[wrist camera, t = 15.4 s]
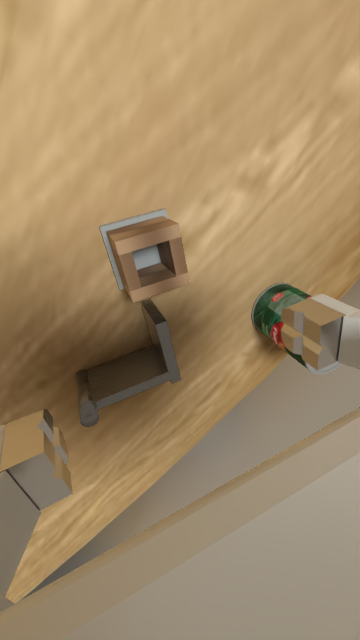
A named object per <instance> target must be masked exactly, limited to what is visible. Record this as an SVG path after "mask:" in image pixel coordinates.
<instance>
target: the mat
mask: <svg viewBox="0 0 360 640" xmlns="http://www.w3.org/2000/svg"><path fill="white" fill-rule="evenodd" d="M159 216H163V217H165V218H167V214H166V209H160V210H157V211H153V212H149V213H146V214H142V215H138V216H135V217H131V218H128V219H124V220H120V221H117V222H113V223H109V224H106V225H102V226H99V228H100V231H101V234H102V237H103V240H104V243H105V246H106V249H107V252H108V256H109V259H110V262H111V265H112V268H113V271H114V274H115V277H116V280H117V283H118V286H119V289H120V290H123V289H125V288H124V286H123V284H122V281H121V278H120V275H119V272H118V268H117V265H116V262H115V259H114V256H113V253H112V250H111V246H110V243H109V240H108V237H107V234H106V231H109V230H113V229H116V228H120V227H123V226H127V225H131V224H134V223H138V222H141V221H145V220H148V219H152V218H156V217H159ZM132 255H133V258H134V262H135V265H136V269H137V270H138V269H141V268H145V267H148V266H151V265H154V264H157V263H160V262H161V260H160V256H159V252H158V248H157V244H155V245H152V246H149V247H145V248H142V249H139V250H135V251H132Z"/></svg>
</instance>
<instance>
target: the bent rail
mask: <svg viewBox="0 0 360 640" xmlns="http://www.w3.org/2000/svg"><path fill="white" fill-rule="evenodd" d="M141 305H142V308H143V312H144V315H145V318H146V322H147V325H148V329H149V332H150V336H151V339H152V342H153V345H152V346H150V347H147V348H144V349H142V350H139V351H137V352H134V353H131V354H129V355H126V356H124V357H121V358H118V359H116V360H113V361H110V362H108V363H105V364H103V365H100V366H97V367H95V368H92V369H89V370H81V371H79V372H78V373H77V374H76V385H77V394H78V403H79V412H80V421H81V424H82V425H83V426H85V427H90V426H93V425H95V424H96V423H97V422H98V420H99V416H98V411H97V410H99V409H101V408H104V407H106V406H108V405H111V404H113V403H116V402H118V401H121V400H123V399H125V398H128V397H130V396H133V395H135V394H137V393H140V392H142V391H145V390H147V389H149V388H152V387H154V386H157V385H159V384H162V383H164V382H166V381H169V380H170V382H171V383H174V382H176V381H179V380H181V377H180V373H179V369H178V365H177V361H176V357H175V353H174V349H173V345H172V341H171V337H170V333H169V329H168V325H167V321H166V320H165V318H164V317H163V316H162V314H161V313H160V312H159V310H158V309H157V307H156V306H155V305H154V303H153V302H152V301H151V299H149V300H146V301H143V302H141Z"/></svg>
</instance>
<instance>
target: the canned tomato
mask: <svg viewBox="0 0 360 640" xmlns="http://www.w3.org/2000/svg"><path fill="white" fill-rule="evenodd" d="M309 297H311V295H308V294H307V293H304V292H303V291H300V290H299V289H297V288H294V287H293V286H291V285H289V284H286V283H277V284H274V285H272V286H270V287H268V288H267V289H265V290H264V291H263V292H262V293H261V294H260V295H259V297H258V298H257V300H256V301H255V304H254V306H253V309H252V322H253V325H254V326H255V327H256V329H258V330H259V331H261V332H262V333H263V334H264V335H266V336H267V337H268V338H269V339H271V340H272V341H273V342H274V343H276V344H277V345H278V346H279V347H281V348H282V349H283V350H284V351H286V352H287V353H288V354H289V355H291V356H292V357H293V358H294V359H296V360H297V361H298V362H299V363H301V364H302V365H304V366H305V367H306V368H307V369H308V370H309V371H310V372H312V373H314V374H325V373H329V372H331V371H333V370H335V369H336V368H338V367H340V366H341V365H342V364H341V363H338V361H337V362H335V363H333V364H331V365H328V366H326V367H324V368H322V369H320V370H318V371H317V370H316V369H314V368H313V367H312V366H310V365H309V364H307V363H306V362H305V361H303V359H302V355H299V354H294V353H292V352H291V351H290V350H288V349H287V347H286V346H285V345H284V343H283V341H282V338H281V329H282V327H283V325H284V322H283V321H282V320H281V313H282V310H283V309H284V308H287V307H289V306H291V305H294V304H296V303H298V302H301V301H303V300H306V299H307V298H309Z"/></svg>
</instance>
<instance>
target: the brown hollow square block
mask: <svg viewBox="0 0 360 640" xmlns="http://www.w3.org/2000/svg"><path fill="white" fill-rule="evenodd" d="M106 234H107V237H108V240H109V243H110V246H111V250H112V253H113V256H114V259H115V262H116V265H117V268H118V272H119V275H120V278H121V281H122V284H123V286H124V288H125V290H126V292H127V293H128V295H129V297H130V298H131V300H132V302H133V303H134V302H137V301H140V300H143V299H146V298H149V297H152V296H155V295H157V294H160V293H163V292H166V291H169V290H172V289H175V288H178V287H181V286H184V285H187V284H190V282H189V277H188V271H187V266H186V261H185V255H184V250H183V244H182V239H181V234H180V228H179V224H178V223H176V222H174V221H172V220H170V219H167V218H165V217H163V216H159V217H156V218H152V219H148V220H145V221H141V222H138V223H134V224H131V225H127V226H123V227H120V228H116V229H113V230H109V231H106ZM155 244H157V248H158V252H159V256H160V260H161V262H160V263H157V264H154V265H151V266H148V267H145V268H141V269H138V270H137V269H136V265H135V262H134V258H133V255H132V251H135V250H139V249H142V248H145V247H149V246H152V245H155Z"/></svg>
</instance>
